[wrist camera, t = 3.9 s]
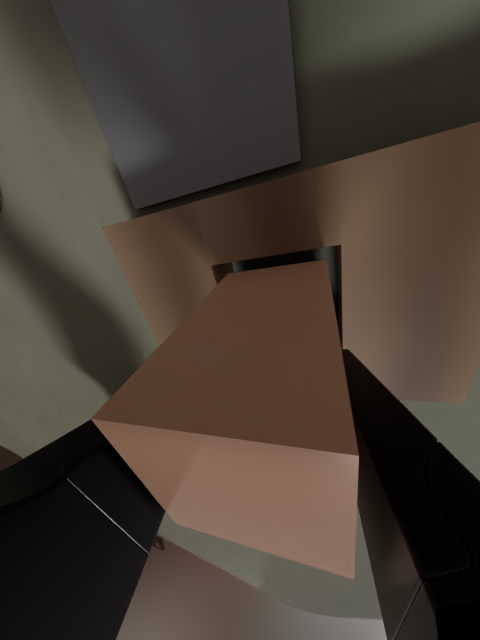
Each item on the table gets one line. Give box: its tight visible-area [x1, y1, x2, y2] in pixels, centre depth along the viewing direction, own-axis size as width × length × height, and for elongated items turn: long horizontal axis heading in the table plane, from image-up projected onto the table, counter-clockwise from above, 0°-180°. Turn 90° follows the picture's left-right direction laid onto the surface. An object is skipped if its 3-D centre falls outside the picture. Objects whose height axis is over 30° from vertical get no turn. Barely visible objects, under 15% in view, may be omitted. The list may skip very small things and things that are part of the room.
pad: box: [50, 0, 301, 210], centre depth 9 cm, size 9×9×1 cm
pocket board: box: [103, 121, 480, 403], centre depth 12 cm, size 16×11×3 cm
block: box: [91, 259, 359, 579], centre depth 8 cm, size 4×4×8 cm
